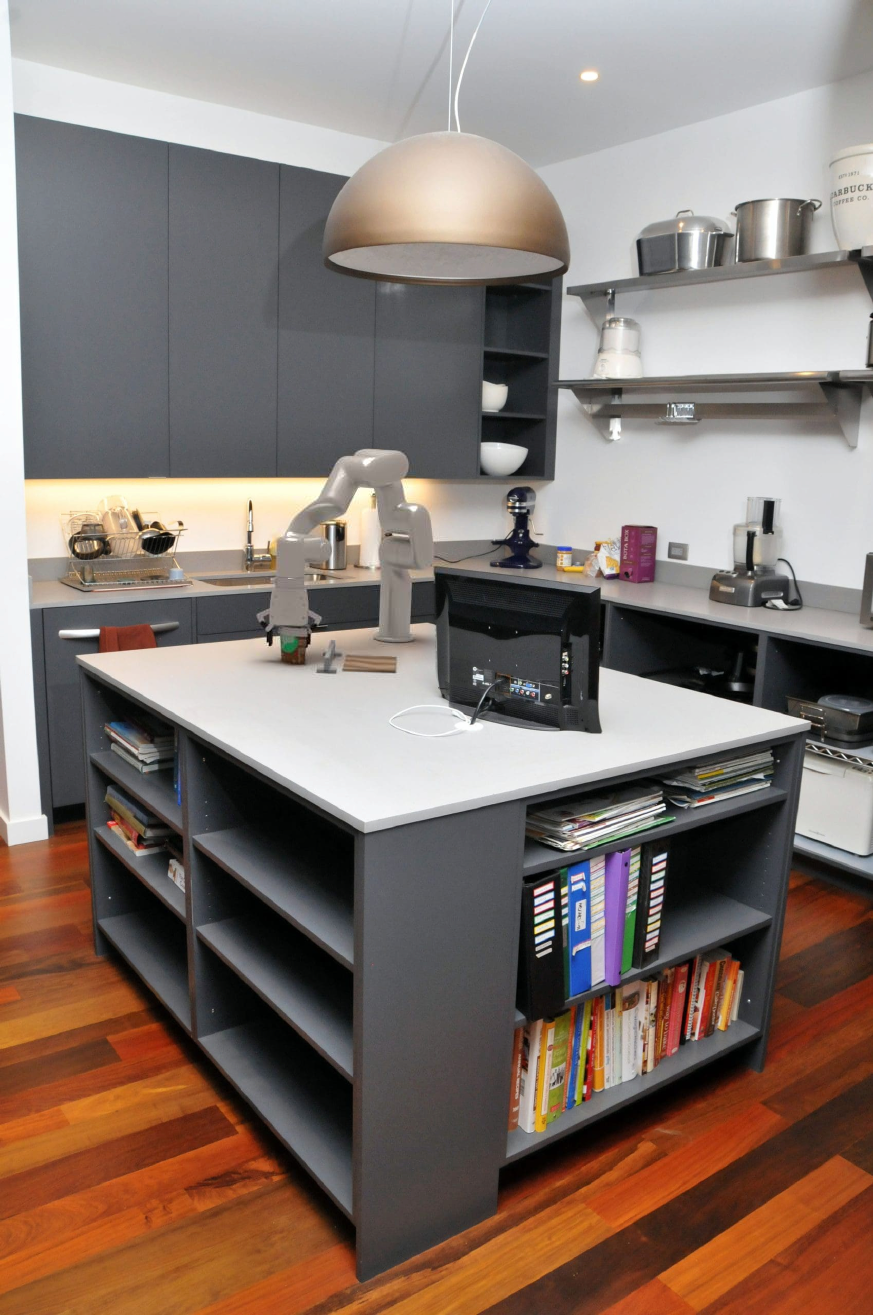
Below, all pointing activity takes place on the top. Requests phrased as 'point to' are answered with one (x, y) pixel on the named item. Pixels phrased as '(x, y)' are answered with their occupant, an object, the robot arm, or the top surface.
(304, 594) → the robot arm
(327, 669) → the grey footed rail
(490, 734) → the top surface
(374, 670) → the walnut board
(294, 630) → the food container
